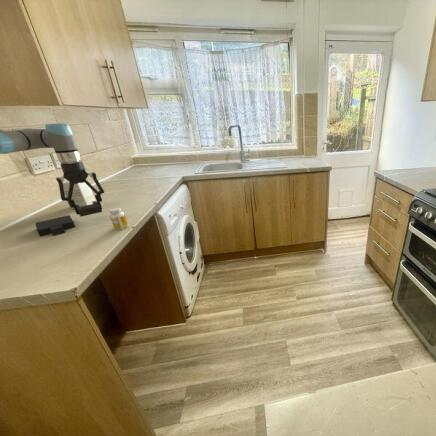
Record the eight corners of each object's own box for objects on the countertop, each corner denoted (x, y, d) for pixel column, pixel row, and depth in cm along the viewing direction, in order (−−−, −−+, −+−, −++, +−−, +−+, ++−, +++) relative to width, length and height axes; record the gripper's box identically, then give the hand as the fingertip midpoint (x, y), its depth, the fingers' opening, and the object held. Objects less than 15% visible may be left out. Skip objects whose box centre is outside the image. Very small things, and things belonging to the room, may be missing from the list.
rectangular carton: (80, 203, 142) (68, 178, 135) (96, 202, 143) (86, 177, 137) (70, 209, 134) (57, 183, 127) (88, 207, 135) (76, 181, 129)
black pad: (76, 211, 114) (74, 205, 113) (97, 206, 120) (95, 200, 118) (80, 216, 108) (78, 210, 107) (102, 211, 113) (100, 205, 112)
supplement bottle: (127, 225, 112) (120, 205, 108) (130, 228, 108) (123, 208, 104) (114, 229, 109) (106, 209, 105) (116, 233, 105) (108, 212, 101)
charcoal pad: (38, 228, 111) (35, 222, 110) (71, 220, 119) (69, 214, 118) (40, 239, 101) (37, 233, 100) (77, 230, 109) (74, 224, 108)
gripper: (38, 166, 95) (61, 219, 104) (102, 159, 109) (117, 206, 118) (37, 164, 100) (59, 215, 109) (98, 157, 114) (113, 203, 123)
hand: (89, 210), depth 114 cm, fingers closed on black pad, 8 cm apart
